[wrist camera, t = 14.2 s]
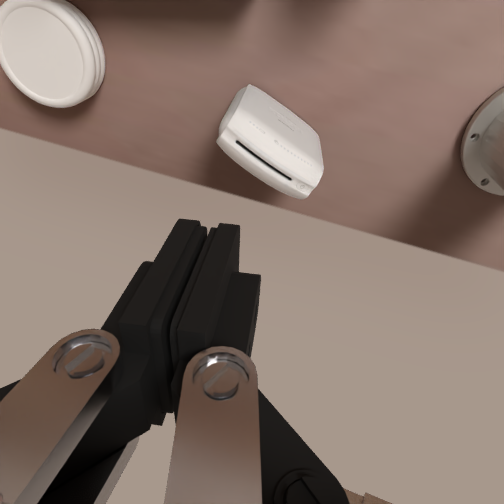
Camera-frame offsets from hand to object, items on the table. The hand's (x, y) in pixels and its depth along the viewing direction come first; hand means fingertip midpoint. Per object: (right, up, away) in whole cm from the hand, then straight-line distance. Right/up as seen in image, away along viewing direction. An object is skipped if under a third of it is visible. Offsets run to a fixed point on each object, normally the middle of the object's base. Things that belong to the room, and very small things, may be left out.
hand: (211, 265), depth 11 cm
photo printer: (+4, +15, +30) cm, 34 cm away
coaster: (-19, +22, +29) cm, 41 cm away
